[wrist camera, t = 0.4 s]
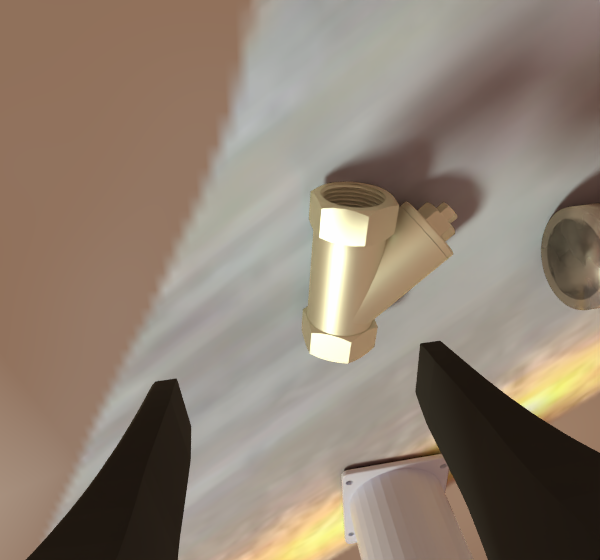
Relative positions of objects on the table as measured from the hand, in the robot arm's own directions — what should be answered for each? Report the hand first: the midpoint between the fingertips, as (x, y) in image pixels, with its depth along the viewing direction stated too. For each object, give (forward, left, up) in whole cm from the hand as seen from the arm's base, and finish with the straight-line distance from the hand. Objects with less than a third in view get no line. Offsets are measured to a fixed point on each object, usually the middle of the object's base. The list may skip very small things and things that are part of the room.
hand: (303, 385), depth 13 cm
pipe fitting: (-2, -5, -10) cm, 11 cm away
